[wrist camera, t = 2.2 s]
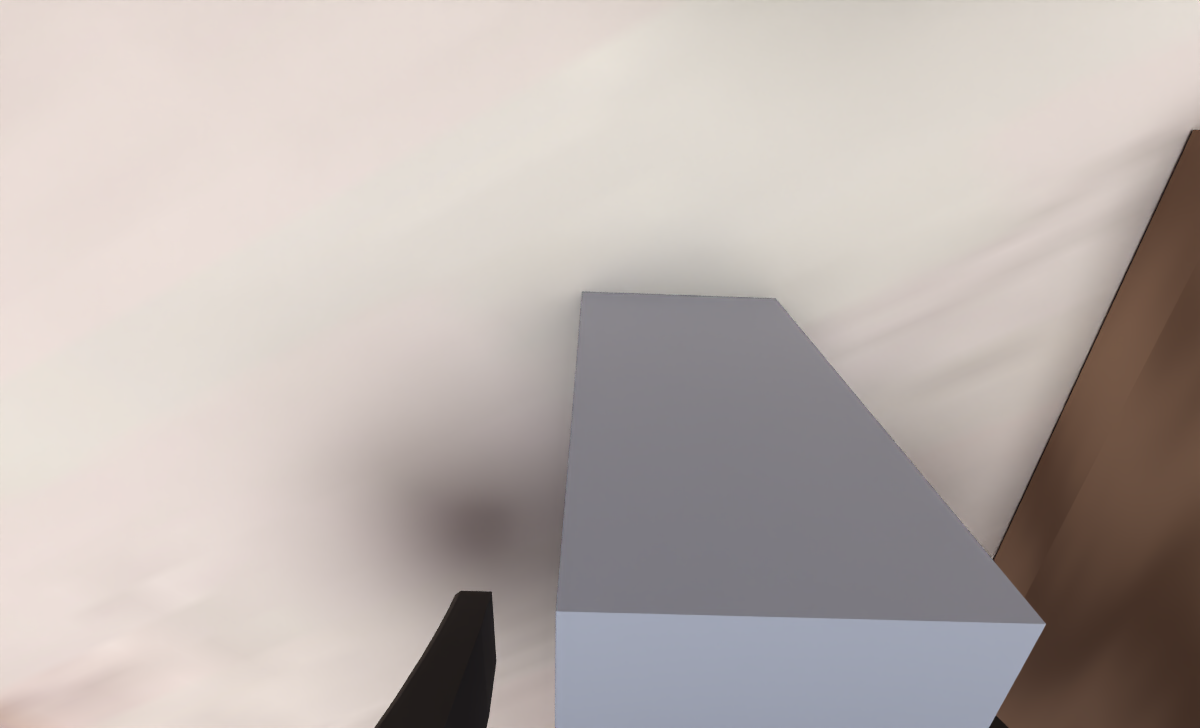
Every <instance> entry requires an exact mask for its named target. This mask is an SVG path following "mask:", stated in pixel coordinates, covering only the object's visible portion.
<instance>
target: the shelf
mask: <svg viewBox="0 0 1200 728" xmlns="http://www.w3.org/2000/svg"><path fill="white" fill-rule="evenodd" d="M994 562H995V563H996V564H997V566H998V567H999V568H1000V569H1001V570H1002V572H1003V573H1004V574H1005V575H1006V576H1007V578H1008V579H1009V580H1010V581H1011V582H1012V584H1013V585H1014V586H1015V587H1016V588H1017V590H1018V591H1019V592H1020V593H1021V594H1022V596H1023V597H1024V598H1025V599H1026V600H1027V602H1028V603H1029V604H1030V605H1031V606H1032V608H1033V609H1034V610H1035V611H1036V612H1037V614H1038V615H1039V616H1040V617H1041V619H1042V620H1043V621H1044V622H1045V623H1046V625H1045V627H1044V629H1043V631H1042V633H1041V634H1040V636H1039V638H1038V640H1037V642H1036V643H1035V645H1034V647H1033V649H1032V651H1031V652H1030V654H1029V656H1028V658H1027V660H1026V661H1025V663H1024V665H1023V667H1022V669H1021V671H1020V672H1019V674H1018V676H1017V678H1016V680H1015V681H1014V683H1013V685H1012V687H1011V689H1010V690H1009V692H1008V694H1007V696H1006V698H1005V700H1004V701H1003V703H1002V705H1001V707H1000V709H999V710H998V712H997V714H996V716H997V717H998V718H999V719H1000V720H1001V721H1002V722H1003V723H1004V724H1005V725H1006V726H1008V727H1009V728H1200V130H1193V132H1192V134H1191V136H1190V138H1189V140H1188V142H1187V145H1186V147H1185V149H1184V151H1183V153H1182V155H1181V157H1180V160H1179V162H1178V164H1177V166H1176V168H1175V170H1174V173H1173V175H1172V177H1171V179H1170V181H1169V183H1168V186H1167V188H1166V190H1165V192H1164V194H1163V196H1162V198H1161V201H1160V203H1159V205H1158V207H1157V209H1156V211H1155V214H1154V216H1153V218H1152V220H1151V222H1150V224H1149V227H1148V229H1147V231H1146V233H1145V235H1144V237H1143V240H1142V242H1141V244H1140V246H1139V248H1138V250H1137V252H1136V255H1135V257H1134V259H1133V261H1132V263H1131V265H1130V268H1129V270H1128V272H1127V274H1126V276H1125V278H1124V281H1123V283H1122V285H1121V287H1120V289H1119V291H1118V293H1117V296H1116V298H1115V300H1114V302H1113V304H1112V306H1111V309H1110V311H1109V313H1108V315H1107V317H1106V319H1105V322H1104V324H1103V326H1102V328H1101V330H1100V332H1099V335H1098V337H1097V339H1096V341H1095V343H1094V345H1093V347H1092V350H1091V352H1090V354H1089V356H1088V358H1087V360H1086V363H1085V365H1084V367H1083V369H1082V371H1081V373H1080V376H1079V378H1078V380H1077V382H1076V384H1075V386H1074V388H1073V391H1072V393H1071V395H1070V397H1069V399H1068V401H1067V404H1066V406H1065V408H1064V410H1063V412H1062V414H1061V417H1060V419H1059V421H1058V423H1057V425H1056V427H1055V430H1054V432H1053V434H1052V436H1051V438H1050V440H1049V442H1048V445H1047V447H1046V449H1045V451H1044V453H1043V455H1042V458H1041V460H1040V462H1039V464H1038V466H1037V468H1036V471H1035V473H1034V475H1033V477H1032V479H1031V481H1030V483H1029V486H1028V488H1027V490H1026V492H1025V494H1024V496H1023V499H1022V501H1021V503H1020V505H1019V507H1018V509H1017V512H1016V514H1015V516H1014V518H1013V520H1012V522H1011V524H1010V527H1009V529H1008V531H1007V533H1006V535H1005V537H1004V540H1003V542H1002V544H1001V546H1000V548H999V550H998V553H997V555H996V557H995V559H994Z"/></svg>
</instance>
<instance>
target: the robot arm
mask: <svg viewBox="0 0 1200 728" xmlns="http://www.w3.org/2000/svg"><path fill="white" fill-rule="evenodd" d="M495 667H496V650H495V634H494V619H493V604H492V592H483V591H460V592H459V593H457V594H456V595H455V597H454V599H453V601H452V603H451V605H450V607H449V609H448V611H447V613H446V615H445V616H444V618H443V620H442V622H441V624H440V626H439V628H438V629H437V631H436V633H435V635H434V636H433V638H432V640H431V641H430V643H429V645H428V647H427V648H426V650H425V652H424V653H423V655H422V657H421V658H420V660H419V661H418V663H417V665H416V666H415V668H414V669H413V671H412V672H411V674H410V676H409V677H408V679H407V680H406V682H405V683H404V685H403V687H402V688H401V690H400V691H399V693H398V694H397V696H396V697H395V699H394V700H393V702H392V703H391V705H390V706H389V708H388V709H387V711H386V712H385V713H384V715H383V716H382V718H381V719H380V720H379V722H378V723H377V725H376V726H375V728H486V727H487V723H488V718H489V712H490V704H491V697H492V690H493V682H494V674H495ZM989 728H1009V727H1008V726H1006V725H1005V724H1004V723H1003V722H1002V721H1001V720H1000V719H999V718H998V717H997V716H995V718H994V719H993V721H992V723H991V725H990V727H989Z"/></svg>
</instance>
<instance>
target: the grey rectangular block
mask: <svg viewBox="0 0 1200 728" xmlns="http://www.w3.org/2000/svg"><path fill="white" fill-rule="evenodd" d="M1045 625H1046V623H1045V622H1044V621H1043V620H1042V619H1041V617H1040V616H1039V615H1038V614H1037V612H1036V611H1035V610H1034V609H1033V608H1032V606H1031V605H1030V604H1029V603H1028V602H1027V600H1026V599H1025V598H1024V597H1023V596H1022V594H1021V593H1020V592H1019V591H1018V590H1017V588H1016V587H1015V586H1014V585H1013V584H1012V582H1011V581H1010V580H1009V579H1008V578H1007V576H1006V575H1005V574H1004V573H1003V572H1002V570H1001V569H1000V568H999V567H998V566H997V564H996V563H995V562H994V561H993V560H992V558H991V557H990V556H989V555H988V554H987V552H986V551H985V550H984V549H983V548H982V546H981V545H980V544H979V543H978V542H977V540H976V539H975V538H974V537H973V535H972V534H971V533H970V532H969V531H968V529H967V528H966V527H965V526H964V525H963V523H962V522H961V521H960V520H959V519H958V517H957V516H956V515H955V514H954V513H953V511H952V510H951V509H950V508H949V507H948V505H947V504H946V503H945V502H944V501H943V499H942V498H941V497H940V496H939V495H938V493H937V492H936V491H935V490H934V489H933V487H932V486H931V485H930V484H929V483H928V481H927V480H926V479H925V478H924V477H923V475H922V474H921V473H920V472H919V471H918V469H917V468H916V467H915V466H914V464H913V463H912V462H911V461H910V460H909V458H908V457H907V456H906V455H905V454H904V452H903V451H902V450H901V449H900V448H899V446H898V445H897V444H896V443H895V442H894V440H893V439H892V438H891V437H890V436H889V434H888V433H887V432H886V431H885V430H884V428H883V427H882V426H881V425H880V424H879V422H878V421H877V420H876V419H875V418H874V416H873V415H872V414H871V413H870V412H869V410H868V409H867V408H866V407H865V406H864V404H863V403H862V402H861V401H860V400H859V398H858V397H857V396H856V395H855V394H854V392H853V391H852V390H851V389H850V387H849V386H848V385H847V384H846V383H845V381H844V380H843V379H842V378H841V377H840V375H839V374H838V373H837V372H836V371H835V369H834V368H833V367H832V366H831V365H830V363H829V362H828V361H827V360H826V359H825V357H824V356H823V355H822V354H821V353H820V351H819V350H818V349H817V348H816V347H815V345H814V344H813V343H812V342H811V341H810V339H809V338H808V337H807V336H806V335H805V333H804V332H803V331H802V330H801V329H800V327H799V326H798V325H797V324H796V323H795V321H794V320H793V319H792V318H791V317H790V315H789V314H788V313H787V312H786V310H785V309H784V308H783V307H782V306H781V304H780V303H779V302H778V301H777V300H776V298H748V297H719V296H691V295H663V294H634V293H606V292H582V300H581V312H580V325H579V337H578V349H577V361H576V373H575V385H574V397H573V409H572V421H571V433H570V445H569V457H568V470H567V482H566V494H565V506H564V518H563V530H562V542H561V554H560V566H559V578H558V590H557V602H556V658H555V728H989V727H990V725H991V723H992V721H993V719H994V718H995V716H996V714H997V712H998V710H999V709H1000V707H1001V705H1002V703H1003V701H1004V700H1005V698H1006V696H1007V694H1008V692H1009V690H1010V689H1011V687H1012V685H1013V683H1014V681H1015V680H1016V678H1017V676H1018V674H1019V672H1020V671H1021V669H1022V667H1023V665H1024V663H1025V661H1026V660H1027V658H1028V656H1029V654H1030V652H1031V651H1032V649H1033V647H1034V645H1035V643H1036V642H1037V640H1038V638H1039V636H1040V634H1041V633H1042V631H1043V629H1044V627H1045Z"/></svg>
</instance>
